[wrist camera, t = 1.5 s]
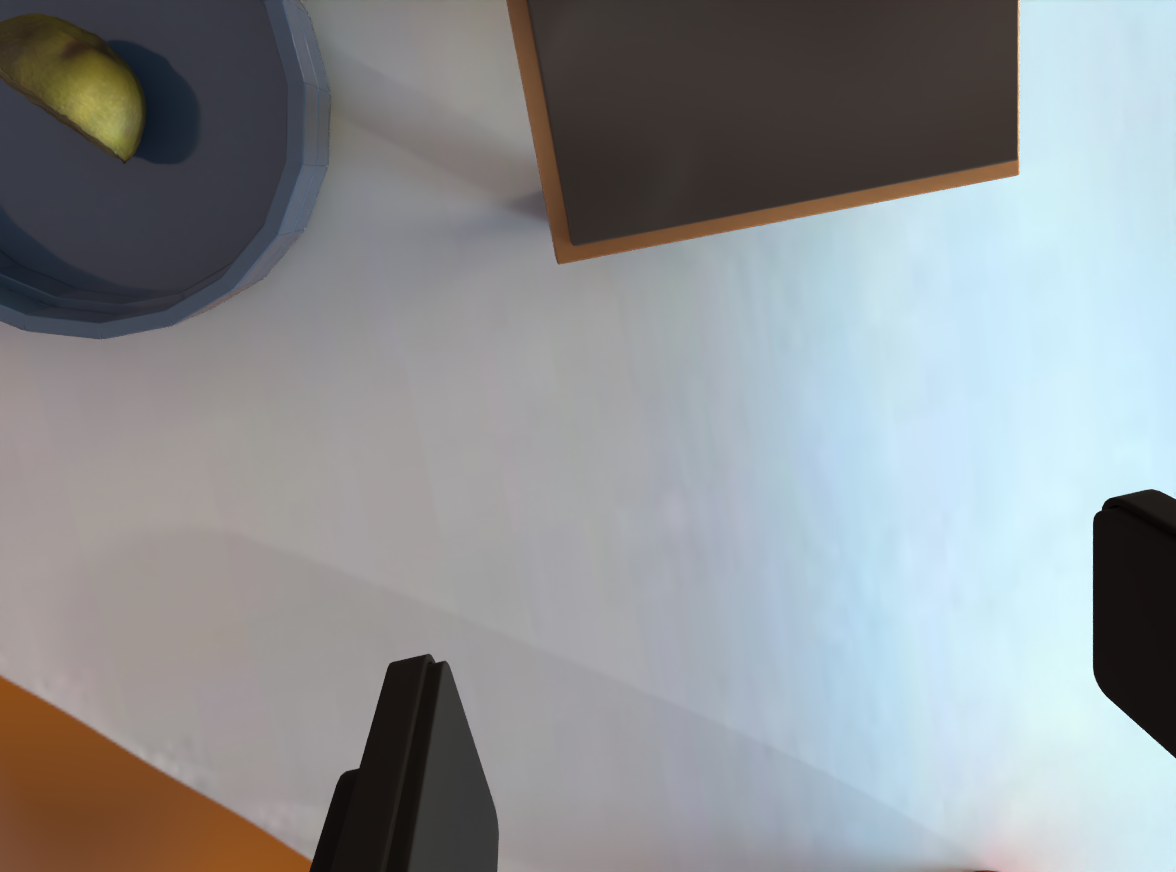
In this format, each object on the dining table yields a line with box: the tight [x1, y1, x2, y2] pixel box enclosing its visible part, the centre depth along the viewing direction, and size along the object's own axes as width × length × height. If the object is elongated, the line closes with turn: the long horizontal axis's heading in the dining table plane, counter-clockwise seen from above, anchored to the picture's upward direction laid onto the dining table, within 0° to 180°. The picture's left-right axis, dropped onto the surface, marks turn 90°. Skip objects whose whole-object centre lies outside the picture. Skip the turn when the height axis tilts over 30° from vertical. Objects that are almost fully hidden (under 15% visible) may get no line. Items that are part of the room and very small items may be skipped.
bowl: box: [0, 0, 330, 339], centre depth 27 cm, size 16×16×4 cm
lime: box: [0, 14, 146, 164], centre depth 26 cm, size 4×5×5 cm
